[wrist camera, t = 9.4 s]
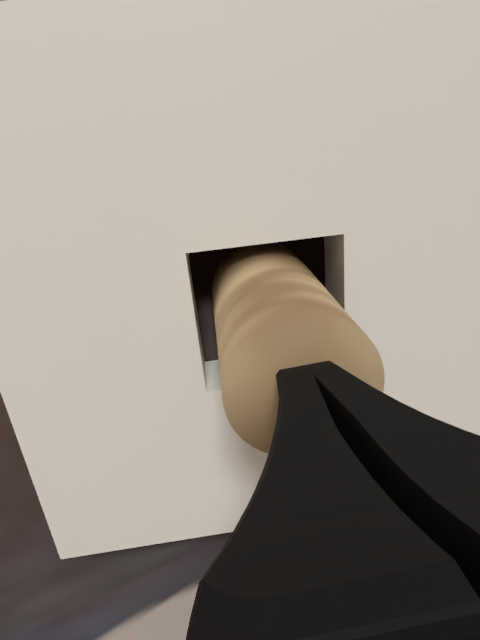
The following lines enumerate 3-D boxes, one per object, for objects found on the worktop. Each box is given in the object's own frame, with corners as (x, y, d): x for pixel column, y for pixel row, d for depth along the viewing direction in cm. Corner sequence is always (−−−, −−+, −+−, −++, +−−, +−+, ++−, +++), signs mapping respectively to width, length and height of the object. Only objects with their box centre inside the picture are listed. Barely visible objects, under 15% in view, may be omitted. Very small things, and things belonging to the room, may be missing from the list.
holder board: (529, -21, 15) (591, -51, 13) (468, 453, 23) (500, 489, 20) (-82, 34, 14) (-136, 12, 11) (74, 514, 21) (60, 559, 19)
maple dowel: (306, 235, 17) (386, 304, 10) (310, 327, 19) (382, 446, 12) (205, 247, 17) (212, 327, 10) (218, 339, 19) (231, 468, 11)
